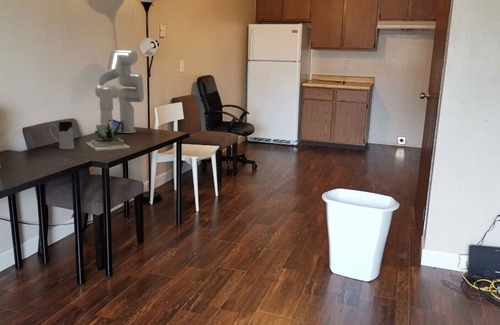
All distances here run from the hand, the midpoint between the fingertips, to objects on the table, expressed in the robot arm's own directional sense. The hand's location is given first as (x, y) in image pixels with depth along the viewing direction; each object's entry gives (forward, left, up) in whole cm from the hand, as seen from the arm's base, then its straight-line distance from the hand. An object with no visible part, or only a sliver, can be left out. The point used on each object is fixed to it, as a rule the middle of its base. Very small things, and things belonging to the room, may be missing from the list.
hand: (107, 136), depth 281 cm
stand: (0, 0, -6) cm, 6 cm away
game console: (-41, +13, -6) cm, 44 cm away
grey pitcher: (-7, -25, -6) cm, 27 cm away
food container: (+1, 0, -2) cm, 3 cm away
